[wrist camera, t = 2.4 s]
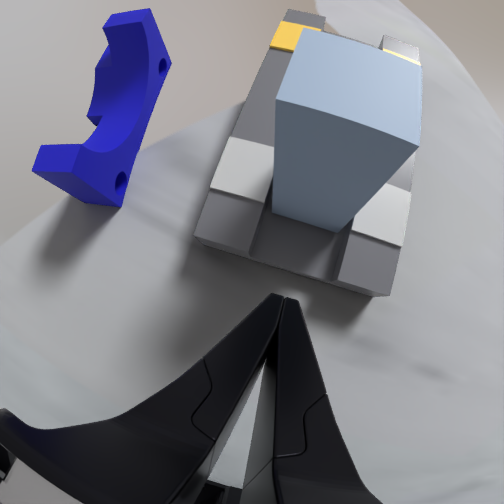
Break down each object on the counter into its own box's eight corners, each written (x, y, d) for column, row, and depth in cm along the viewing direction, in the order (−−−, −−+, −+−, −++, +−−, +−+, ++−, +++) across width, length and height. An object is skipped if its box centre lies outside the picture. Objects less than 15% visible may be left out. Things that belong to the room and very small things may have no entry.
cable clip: (122, 66, 20) (94, 18, 15) (171, 63, 20) (150, 8, 14) (69, 201, 19) (15, 170, 13) (122, 208, 18) (71, 172, 12)
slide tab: (337, 233, 16) (419, 146, 6) (271, 212, 16) (275, 98, 7) (350, 182, 16) (421, 66, 7) (287, 163, 17) (303, 27, 7)
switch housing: (373, 296, 17) (390, 295, 14) (203, 244, 17) (192, 234, 15) (408, 68, 19) (419, 46, 16) (287, 31, 20) (288, 7, 17)
